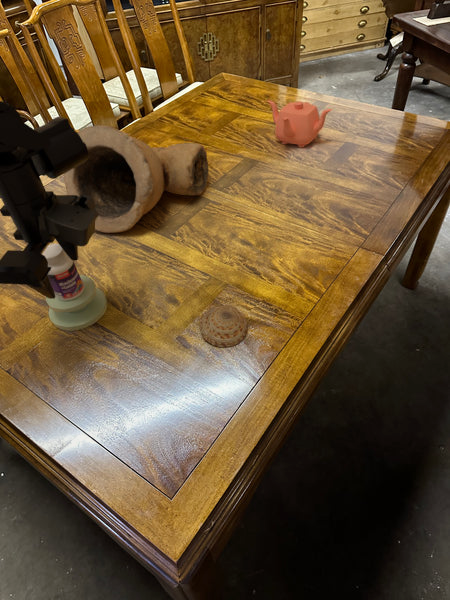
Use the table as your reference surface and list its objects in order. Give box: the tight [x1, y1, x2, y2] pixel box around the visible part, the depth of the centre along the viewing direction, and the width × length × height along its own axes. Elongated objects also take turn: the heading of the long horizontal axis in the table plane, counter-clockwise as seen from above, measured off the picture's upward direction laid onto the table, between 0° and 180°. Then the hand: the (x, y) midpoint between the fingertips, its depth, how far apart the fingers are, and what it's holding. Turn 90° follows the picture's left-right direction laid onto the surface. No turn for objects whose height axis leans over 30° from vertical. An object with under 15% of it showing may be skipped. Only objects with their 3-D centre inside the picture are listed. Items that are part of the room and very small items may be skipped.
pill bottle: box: [42, 243, 84, 301], centre depth 75 cm, size 5×5×10 cm
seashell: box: [199, 304, 248, 348], centre depth 74 cm, size 8×6×8 cm
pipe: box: [63, 124, 209, 234], centre depth 103 cm, size 23×29×30 cm
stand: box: [45, 274, 108, 332], centre depth 80 cm, size 11×11×5 cm
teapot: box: [267, 99, 333, 148], centre depth 121 cm, size 14×14×11 cm
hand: (64, 278), depth 68 cm, fingers open, 9 cm apart
